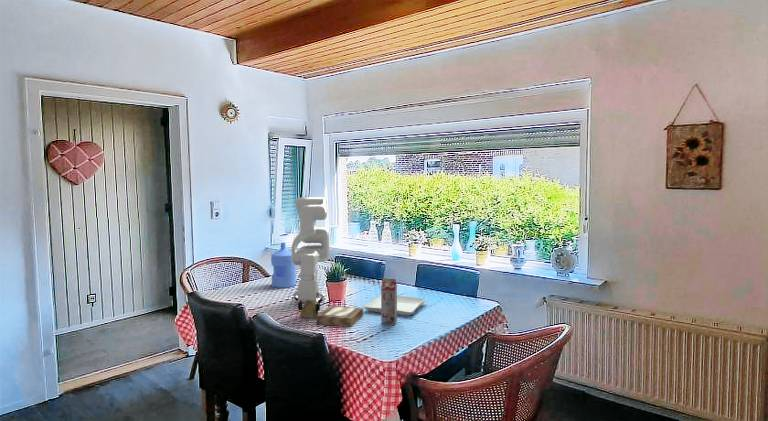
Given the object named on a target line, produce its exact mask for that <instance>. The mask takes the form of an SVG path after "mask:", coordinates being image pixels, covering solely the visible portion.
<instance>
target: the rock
mask: <svg viewBox="0 0 768 421" xmlns="http://www.w3.org/2000/svg"><path fill="white" fill-rule="evenodd" d="M316 304H317V303H316V302H315V301H310V300H306V302H304V304H303V305H302V310H300V312H299V316H300V317H303V318H308V319H313V320H314V319H315V320H316V316H317V315H318V314H319V313H320V312H319V311H318V312H316Z"/></svg>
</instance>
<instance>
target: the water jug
mask: <svg viewBox="0 0 768 421" xmlns="http://www.w3.org/2000/svg"><path fill="white" fill-rule="evenodd" d="M270 259H271V266H272V267H273V274H271V286H272V287H273V288H279V289H287V288H292V287H295V286H296V284H297V280H296V279H297V278H296V276H297V275H296V272H297V269H296V268H297V267H296V265H294V264H293V263H292V250H290V249H287V248H286V242H280V249H279V250H277V251H275V252H273V253H271V256H270Z"/></svg>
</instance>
